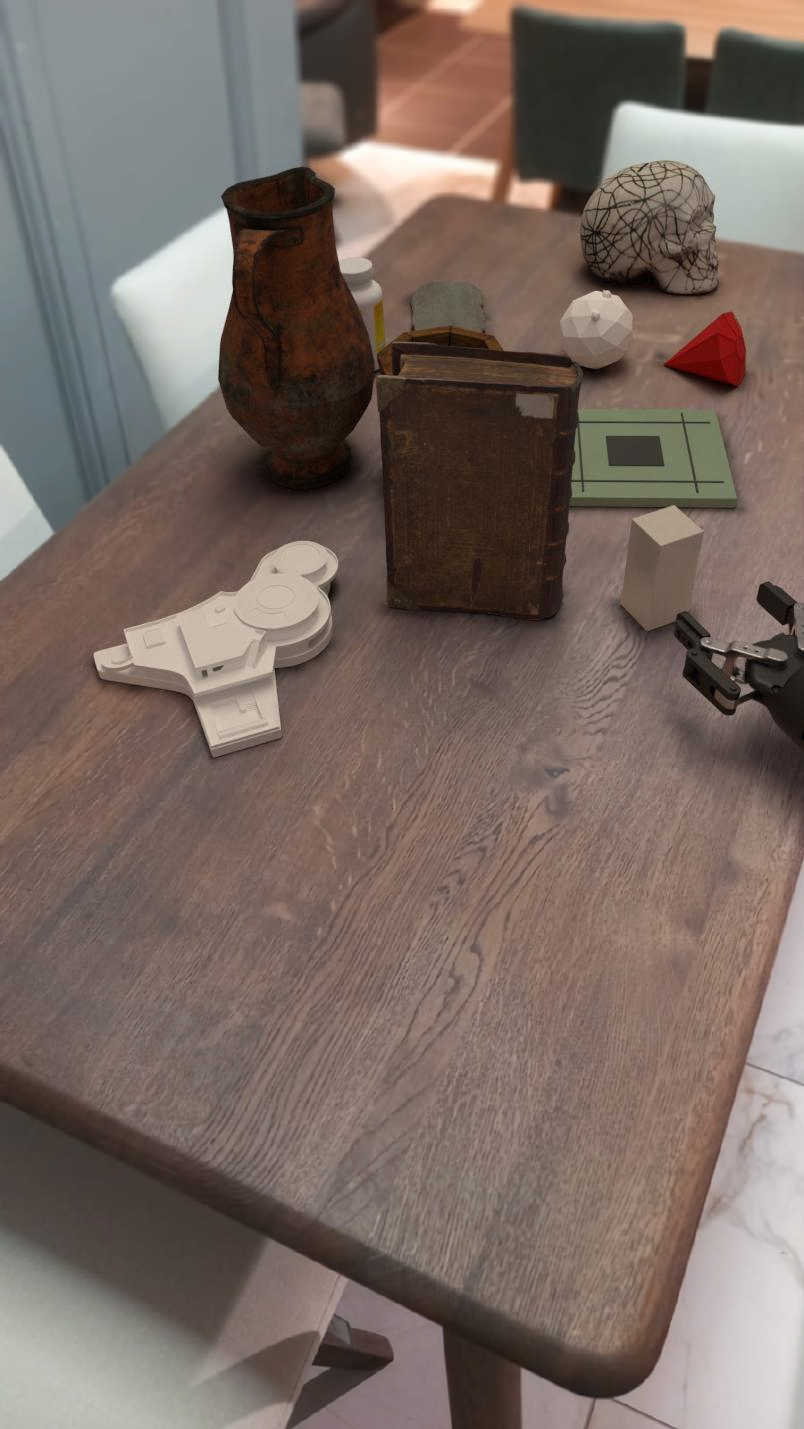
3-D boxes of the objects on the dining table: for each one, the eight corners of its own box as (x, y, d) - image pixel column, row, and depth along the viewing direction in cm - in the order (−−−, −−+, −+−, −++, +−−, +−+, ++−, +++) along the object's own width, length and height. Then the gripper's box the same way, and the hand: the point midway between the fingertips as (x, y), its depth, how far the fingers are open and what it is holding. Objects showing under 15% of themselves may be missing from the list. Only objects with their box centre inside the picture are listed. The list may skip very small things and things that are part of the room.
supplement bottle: (373, 347, 144) (368, 249, 135) (394, 369, 140) (390, 269, 131) (326, 359, 142) (317, 260, 133) (346, 381, 138) (338, 281, 129)
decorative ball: (641, 402, 136) (619, 325, 127) (564, 399, 142) (538, 325, 133) (665, 351, 140) (645, 273, 130) (589, 351, 145) (565, 275, 136)
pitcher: (395, 428, 130) (382, 159, 108) (352, 535, 115) (327, 250, 94) (261, 418, 132) (222, 154, 111) (202, 521, 118) (145, 240, 97)
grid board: (713, 418, 129) (715, 408, 128) (735, 508, 116) (737, 497, 115) (542, 417, 130) (542, 407, 129) (545, 506, 118) (545, 495, 117)
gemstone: (643, 375, 133) (722, 357, 127) (652, 315, 136) (730, 294, 130) (672, 415, 140) (749, 399, 134) (681, 356, 142) (757, 338, 136)
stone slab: (479, 299, 155) (409, 293, 154) (482, 280, 153) (411, 274, 152) (489, 380, 139) (411, 374, 139) (493, 360, 137) (414, 354, 137)
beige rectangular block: (660, 590, 107) (674, 504, 100) (687, 617, 104) (704, 531, 97) (619, 604, 106) (631, 518, 99) (646, 632, 103) (660, 545, 96)
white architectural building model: (84, 620, 107) (72, 584, 104) (327, 557, 113) (323, 521, 110) (127, 782, 92) (115, 746, 89) (405, 701, 98) (403, 664, 94)
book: (567, 591, 107) (588, 353, 90) (553, 638, 103) (573, 397, 85) (404, 566, 111) (393, 333, 93) (383, 610, 107) (368, 373, 89)
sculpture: (666, 317, 147) (683, 201, 136) (555, 273, 157) (562, 162, 147) (735, 280, 153) (755, 167, 143) (623, 241, 164) (635, 133, 153)
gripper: (936, 661, 83) (796, 546, 94) (783, 722, 80) (656, 595, 90) (907, 728, 89) (778, 612, 99) (763, 789, 85) (645, 662, 95)
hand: (720, 604), depth 95 cm, fingers open, 8 cm apart
